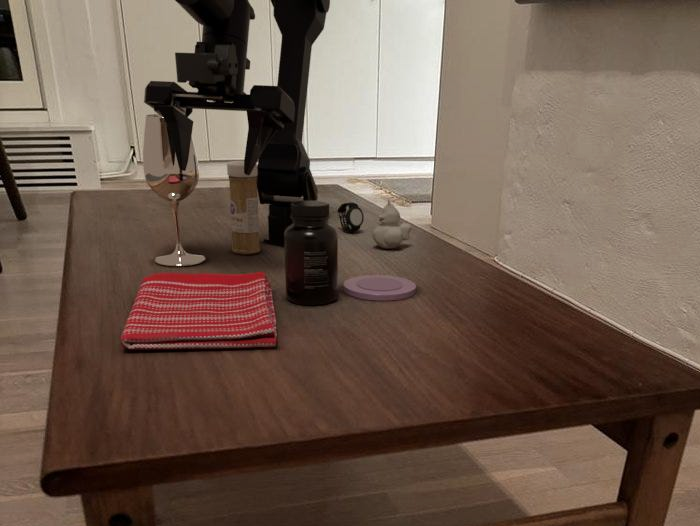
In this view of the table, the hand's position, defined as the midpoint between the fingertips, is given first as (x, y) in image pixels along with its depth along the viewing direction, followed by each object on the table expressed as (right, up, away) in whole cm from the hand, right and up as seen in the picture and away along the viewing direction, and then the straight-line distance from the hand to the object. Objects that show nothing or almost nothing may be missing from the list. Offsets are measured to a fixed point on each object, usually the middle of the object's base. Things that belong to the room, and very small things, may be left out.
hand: (214, 172), depth 96 cm
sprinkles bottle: (+1, -4, +23) cm, 23 cm away
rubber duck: (+24, -1, +28) cm, 37 cm away
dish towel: (0, -21, -7) cm, 22 cm away
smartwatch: (+17, +5, +38) cm, 42 cm away
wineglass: (-8, -7, +17) cm, 20 cm away
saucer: (+22, -14, +5) cm, 26 cm away
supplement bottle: (+13, -16, +1) cm, 21 cm away
